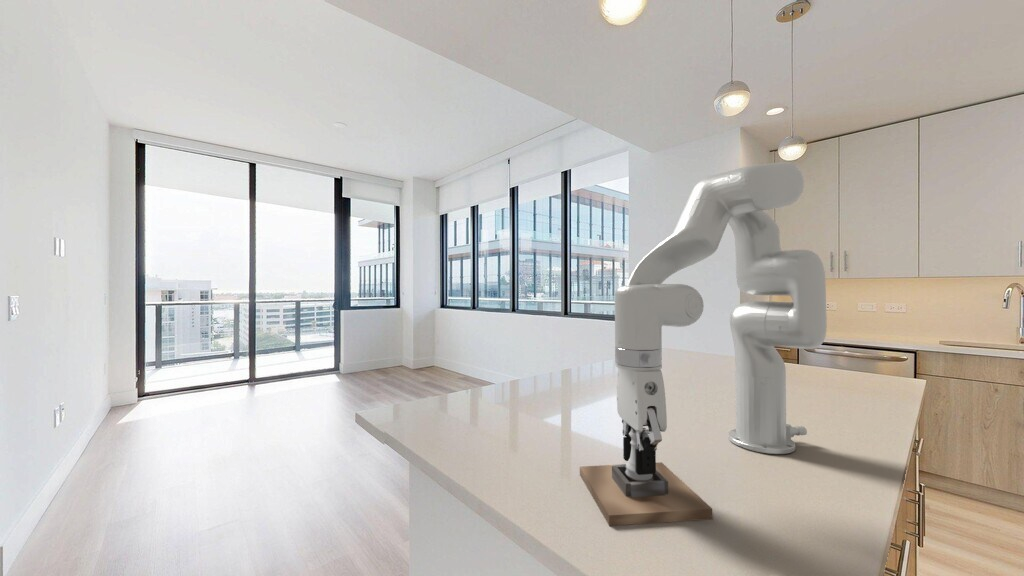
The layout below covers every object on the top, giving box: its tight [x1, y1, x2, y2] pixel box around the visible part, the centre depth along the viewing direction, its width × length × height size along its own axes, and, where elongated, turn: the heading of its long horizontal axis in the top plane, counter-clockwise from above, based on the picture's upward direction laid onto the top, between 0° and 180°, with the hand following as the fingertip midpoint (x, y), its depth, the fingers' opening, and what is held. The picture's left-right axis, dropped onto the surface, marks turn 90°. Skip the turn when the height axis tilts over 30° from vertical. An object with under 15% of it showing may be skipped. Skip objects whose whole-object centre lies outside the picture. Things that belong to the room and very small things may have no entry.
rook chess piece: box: [625, 427, 653, 482], centre depth 66 cm, size 4×4×8 cm
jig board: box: [579, 461, 714, 527], centre depth 66 cm, size 16×16×4 cm
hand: (638, 465), depth 66 cm, fingers closed on rook chess piece, 4 cm apart
